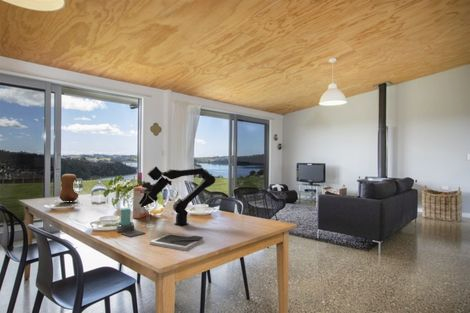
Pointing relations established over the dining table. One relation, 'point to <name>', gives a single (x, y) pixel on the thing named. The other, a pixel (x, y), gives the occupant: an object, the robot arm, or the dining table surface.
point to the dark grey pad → (133, 233)
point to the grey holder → (125, 227)
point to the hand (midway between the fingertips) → (140, 205)
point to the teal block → (125, 216)
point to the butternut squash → (68, 188)
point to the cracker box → (137, 209)
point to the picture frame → (177, 241)
